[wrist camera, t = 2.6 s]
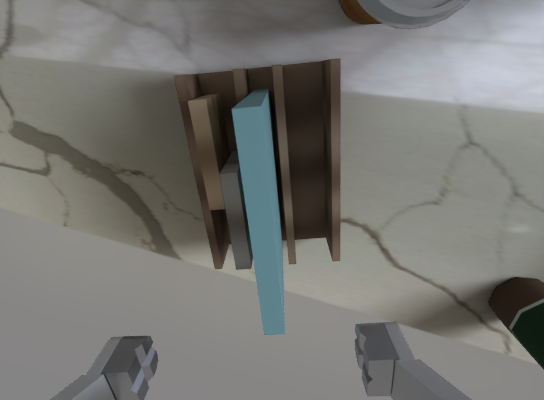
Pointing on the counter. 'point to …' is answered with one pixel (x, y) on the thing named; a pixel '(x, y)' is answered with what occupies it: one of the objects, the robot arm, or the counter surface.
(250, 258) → the offcut
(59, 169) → the counter surface
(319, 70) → the rack
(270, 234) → the tall sheet
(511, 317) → the beer bottle
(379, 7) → the disposable coffee cup
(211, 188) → the offcut
